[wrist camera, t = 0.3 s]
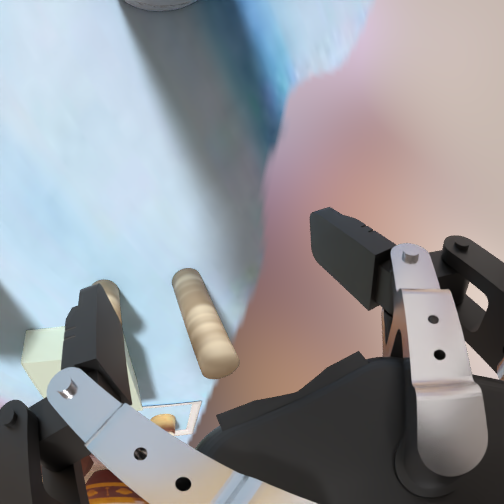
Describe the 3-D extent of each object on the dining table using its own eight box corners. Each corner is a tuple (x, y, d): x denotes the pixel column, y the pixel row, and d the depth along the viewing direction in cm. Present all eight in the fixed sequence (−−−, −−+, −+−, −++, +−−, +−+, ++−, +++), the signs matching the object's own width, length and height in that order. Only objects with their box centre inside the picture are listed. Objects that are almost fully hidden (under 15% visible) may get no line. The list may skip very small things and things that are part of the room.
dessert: (129, 435, 46) (134, 457, 42) (126, 402, 41) (131, 428, 37) (191, 429, 52) (198, 449, 48) (199, 396, 46) (208, 419, 43)
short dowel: (87, 281, 28) (85, 314, 24) (116, 277, 30) (118, 310, 26) (93, 305, 30) (93, 339, 26) (121, 301, 31) (124, 334, 27)
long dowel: (171, 270, 32) (200, 358, 22) (200, 266, 33) (240, 350, 23) (172, 294, 33) (202, 382, 24) (201, 290, 34) (238, 374, 25)
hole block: (26, 330, 28) (20, 363, 24) (119, 318, 32) (123, 352, 28) (58, 389, 34) (59, 419, 30) (137, 380, 38) (143, 410, 34)
